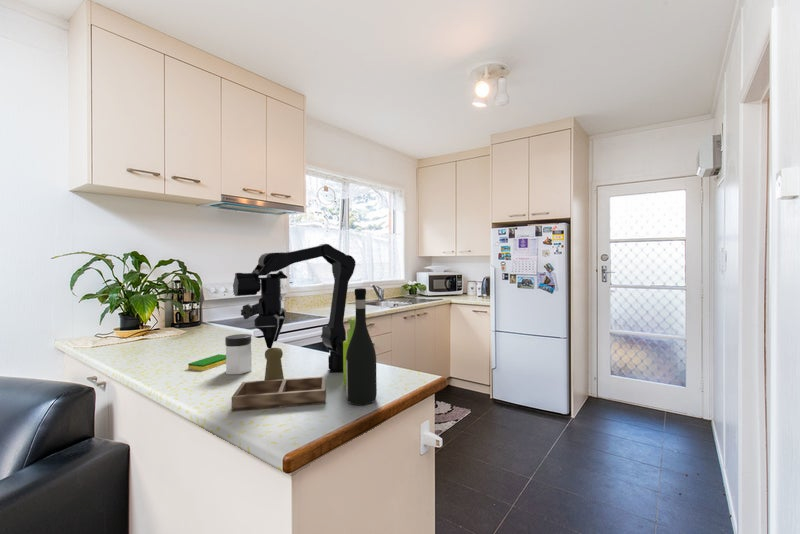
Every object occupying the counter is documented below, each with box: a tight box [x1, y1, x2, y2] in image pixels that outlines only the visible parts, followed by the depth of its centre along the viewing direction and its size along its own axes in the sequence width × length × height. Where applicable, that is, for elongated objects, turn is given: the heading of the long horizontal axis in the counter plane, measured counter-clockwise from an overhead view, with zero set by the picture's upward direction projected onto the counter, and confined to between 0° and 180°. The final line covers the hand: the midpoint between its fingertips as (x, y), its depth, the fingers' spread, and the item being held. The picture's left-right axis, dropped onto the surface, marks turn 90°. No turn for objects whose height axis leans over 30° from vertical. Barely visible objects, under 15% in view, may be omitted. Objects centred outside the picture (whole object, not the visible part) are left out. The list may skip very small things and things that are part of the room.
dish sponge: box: [187, 353, 226, 371], centre depth 134 cm, size 7×14×2 cm, turn 161°
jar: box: [224, 333, 253, 375], centre depth 126 cm, size 9×8×12 cm
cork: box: [263, 347, 285, 381], centre depth 112 cm, size 6×6×11 cm
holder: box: [231, 375, 327, 412], centre depth 100 cm, size 23×12×4 cm, turn 101°
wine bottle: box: [345, 287, 378, 406], centre depth 98 cm, size 8×8×30 cm
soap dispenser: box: [342, 317, 356, 387], centre depth 111 cm, size 6×7×20 cm
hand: (272, 344), depth 112 cm, fingers open, 9 cm apart
